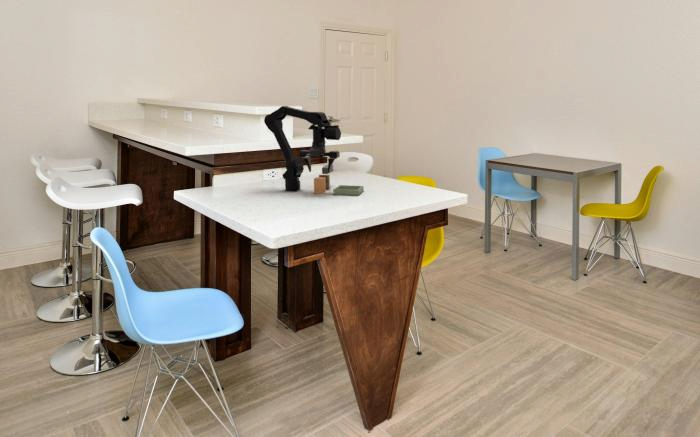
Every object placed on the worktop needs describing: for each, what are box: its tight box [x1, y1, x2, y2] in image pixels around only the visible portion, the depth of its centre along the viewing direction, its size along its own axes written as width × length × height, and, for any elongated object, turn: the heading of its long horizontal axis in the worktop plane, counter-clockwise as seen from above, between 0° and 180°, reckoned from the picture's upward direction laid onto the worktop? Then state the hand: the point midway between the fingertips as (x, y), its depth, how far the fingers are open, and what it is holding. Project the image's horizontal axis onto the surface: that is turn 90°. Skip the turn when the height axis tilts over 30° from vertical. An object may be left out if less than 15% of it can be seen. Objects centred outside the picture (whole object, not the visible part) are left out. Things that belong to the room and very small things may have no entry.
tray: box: [332, 184, 364, 197], centre depth 253 cm, size 12×12×3 cm
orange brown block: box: [313, 176, 327, 194], centre depth 255 cm, size 4×5×7 cm
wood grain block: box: [318, 174, 331, 191], centre depth 262 cm, size 5×2×7 cm, turn 77°
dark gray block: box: [321, 164, 334, 175], centre depth 267 cm, size 3×10×3 cm, turn 167°
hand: (319, 172), depth 253 cm, fingers open, 9 cm apart
